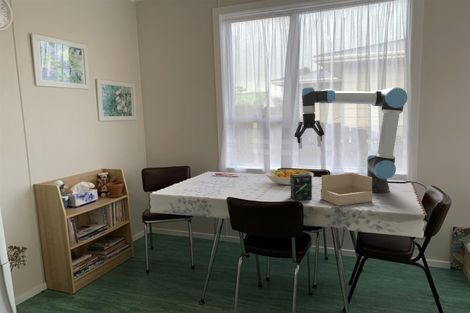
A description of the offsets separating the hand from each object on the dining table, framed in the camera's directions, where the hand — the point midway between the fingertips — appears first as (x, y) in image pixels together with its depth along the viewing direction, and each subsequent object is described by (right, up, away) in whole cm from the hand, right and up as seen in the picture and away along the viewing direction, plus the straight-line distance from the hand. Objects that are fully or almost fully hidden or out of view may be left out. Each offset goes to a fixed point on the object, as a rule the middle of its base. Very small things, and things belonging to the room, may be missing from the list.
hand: (309, 147), depth 207 cm
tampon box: (-6, -31, -5) cm, 32 cm away
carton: (+18, -31, -12) cm, 38 cm away
